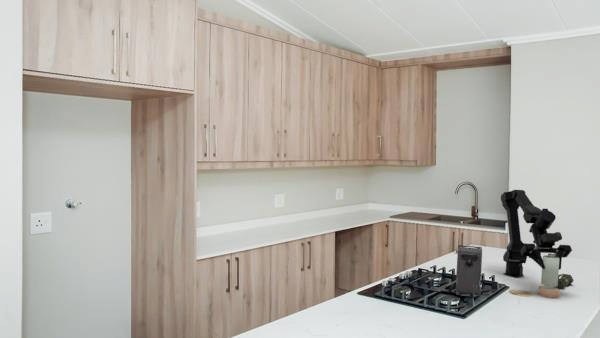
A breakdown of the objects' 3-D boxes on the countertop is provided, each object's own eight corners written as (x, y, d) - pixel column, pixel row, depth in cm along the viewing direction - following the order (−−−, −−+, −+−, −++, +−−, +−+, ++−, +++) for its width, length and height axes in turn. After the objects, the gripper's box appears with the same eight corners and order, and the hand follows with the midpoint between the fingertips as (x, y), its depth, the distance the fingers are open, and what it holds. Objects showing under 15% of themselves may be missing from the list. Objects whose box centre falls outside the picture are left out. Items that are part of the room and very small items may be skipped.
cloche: (539, 284, 204) (541, 254, 204) (542, 281, 209) (544, 251, 208) (556, 287, 201) (558, 256, 200) (559, 284, 206) (561, 254, 205)
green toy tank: (573, 285, 226) (561, 293, 213) (561, 282, 229) (548, 290, 216) (574, 271, 225) (562, 278, 212) (562, 269, 229) (549, 275, 216)
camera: (479, 297, 214) (481, 249, 218) (480, 298, 198) (482, 246, 202) (452, 294, 217) (454, 247, 221) (450, 295, 202) (453, 243, 206)
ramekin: (534, 294, 206) (534, 287, 206) (544, 292, 210) (544, 284, 210) (553, 300, 200) (553, 292, 200) (563, 297, 204) (563, 289, 204)
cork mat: (504, 292, 208) (504, 291, 208) (516, 289, 213) (516, 288, 213) (525, 298, 200) (525, 297, 200) (537, 295, 206) (537, 294, 206)
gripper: (525, 223, 207) (536, 257, 197) (571, 225, 207) (584, 258, 197) (515, 239, 216) (525, 272, 205) (560, 240, 216) (572, 273, 206)
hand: (552, 268), depth 203 cm, fingers closed on cloche, 6 cm apart
